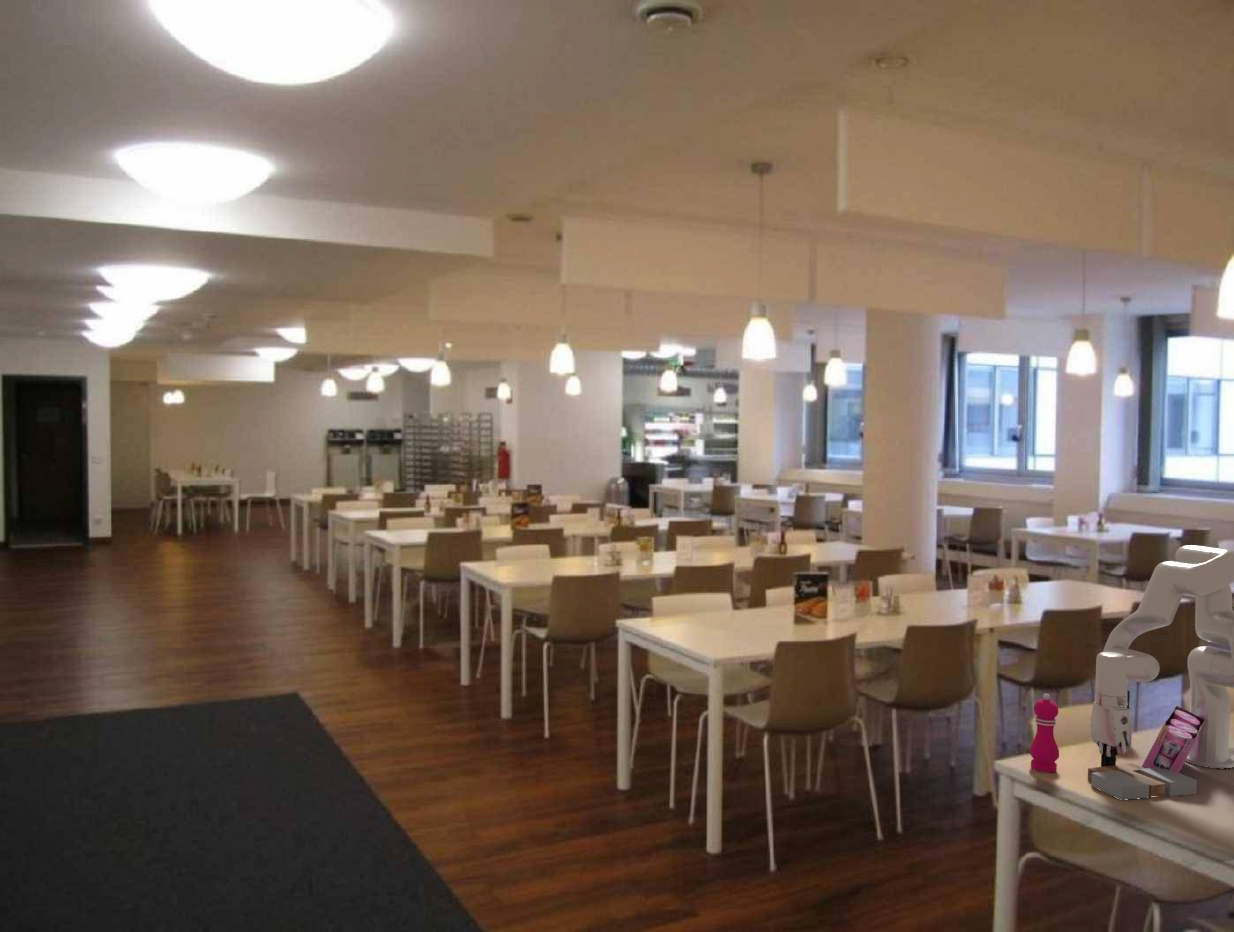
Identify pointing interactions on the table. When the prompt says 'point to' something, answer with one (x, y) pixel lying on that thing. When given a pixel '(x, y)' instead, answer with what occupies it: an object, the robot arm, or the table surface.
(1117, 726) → the robot arm
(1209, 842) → the table surface
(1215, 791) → the table surface
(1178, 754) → the gum box
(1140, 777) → the t block
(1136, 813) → the table surface
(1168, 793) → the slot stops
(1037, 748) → the pepper mill
